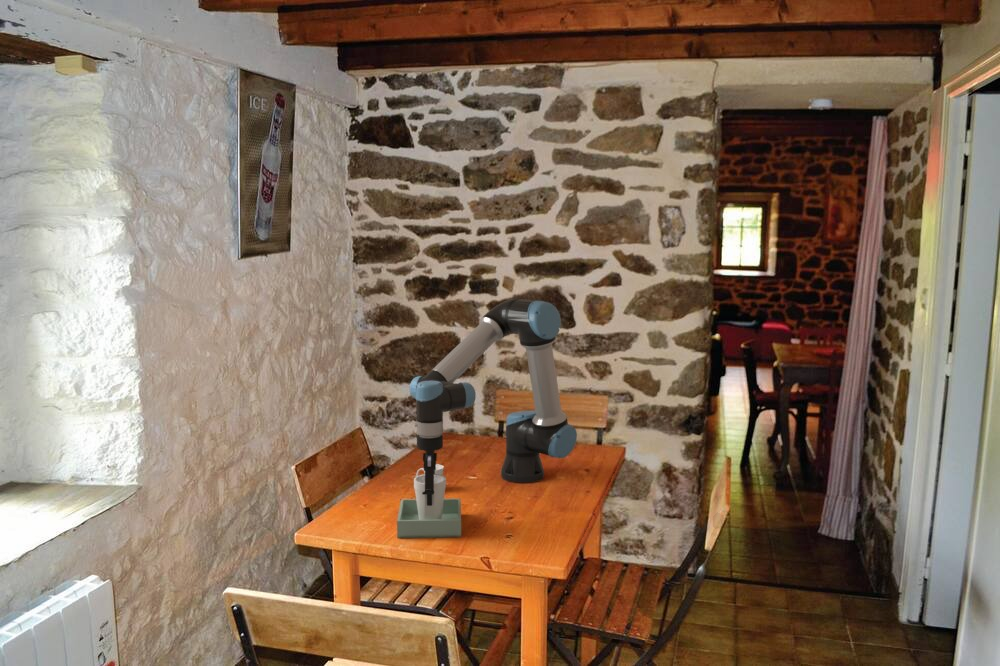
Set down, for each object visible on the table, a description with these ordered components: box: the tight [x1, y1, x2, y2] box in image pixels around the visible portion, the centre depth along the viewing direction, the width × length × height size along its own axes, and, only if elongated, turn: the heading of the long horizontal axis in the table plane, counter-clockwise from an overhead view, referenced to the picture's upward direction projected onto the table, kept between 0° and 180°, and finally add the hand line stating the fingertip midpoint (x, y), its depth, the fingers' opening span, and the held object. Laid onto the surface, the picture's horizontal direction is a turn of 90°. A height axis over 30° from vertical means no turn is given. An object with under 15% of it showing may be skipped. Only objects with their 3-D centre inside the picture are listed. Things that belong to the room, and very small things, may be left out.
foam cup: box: [413, 474, 447, 520], centre depth 235 cm, size 10×9×13 cm
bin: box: [396, 498, 462, 539], centre depth 236 cm, size 18×18×5 cm
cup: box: [415, 463, 445, 477], centre depth 267 cm, size 7×10×8 cm
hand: (430, 508), depth 236 cm, fingers open, 10 cm apart
